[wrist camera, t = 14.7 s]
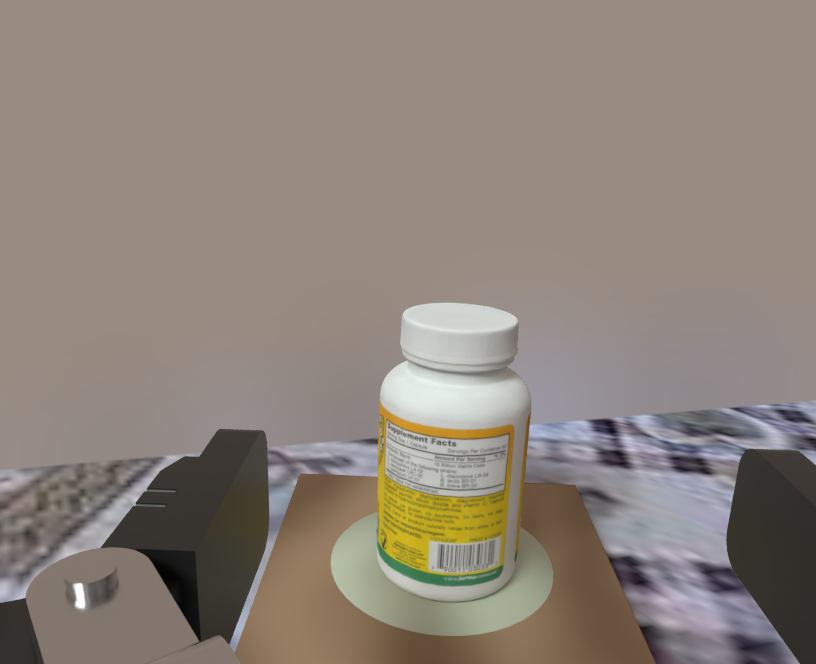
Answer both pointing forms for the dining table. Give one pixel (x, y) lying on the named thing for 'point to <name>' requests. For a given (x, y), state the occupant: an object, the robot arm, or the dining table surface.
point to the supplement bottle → (452, 453)
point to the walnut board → (429, 619)
